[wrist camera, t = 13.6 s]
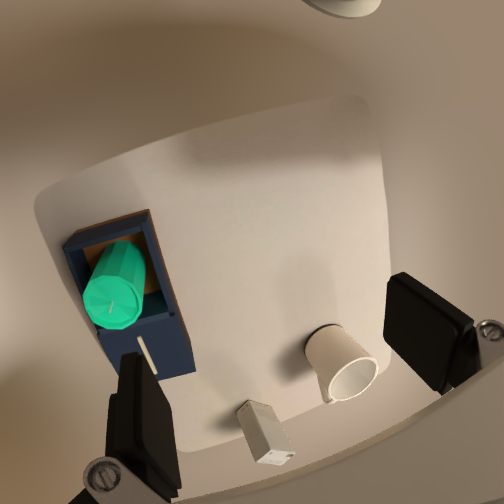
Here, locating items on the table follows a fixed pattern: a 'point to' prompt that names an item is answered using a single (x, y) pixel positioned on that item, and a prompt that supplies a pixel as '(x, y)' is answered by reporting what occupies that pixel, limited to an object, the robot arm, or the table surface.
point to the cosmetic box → (264, 434)
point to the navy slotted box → (154, 298)
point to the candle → (116, 286)
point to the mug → (339, 363)
